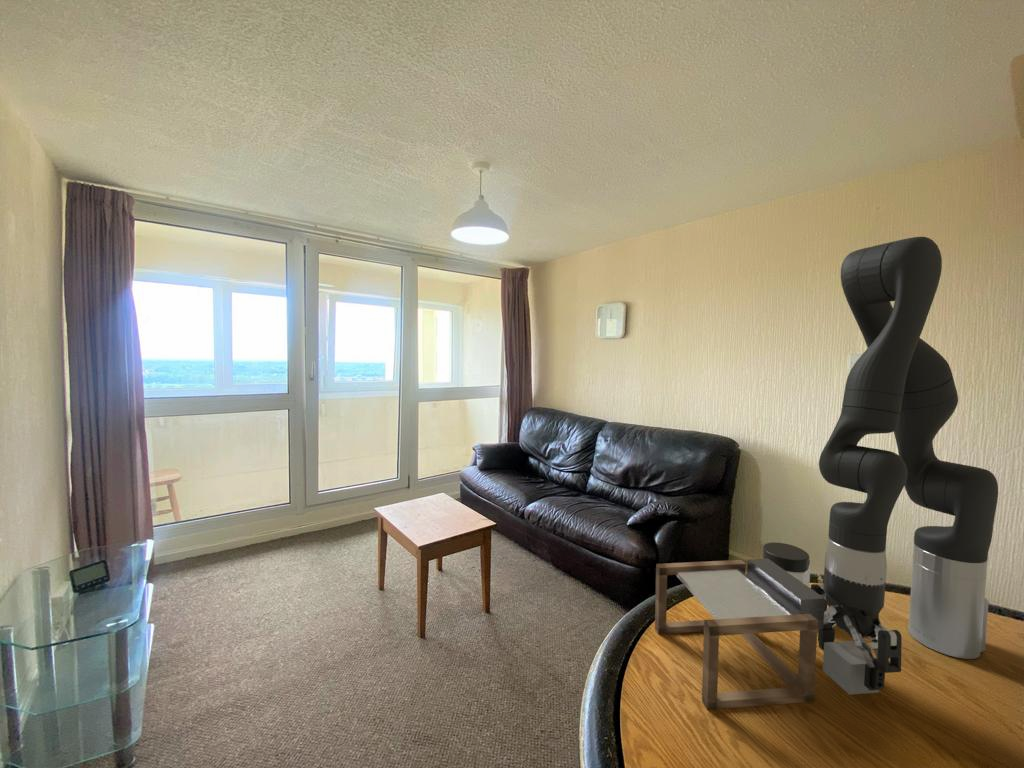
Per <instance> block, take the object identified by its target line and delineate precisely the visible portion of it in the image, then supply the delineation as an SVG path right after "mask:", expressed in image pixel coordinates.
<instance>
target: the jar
mask: <svg viewBox="0 0 1024 768" xmlns="http://www.w3.org/2000/svg"><path fill="white" fill-rule="evenodd" d="M767 558H768V559H769V560H771V561H772V562H774V563H775V564H776V565H778V566H779V567H781V568H782V569H784V570H785V571H786V572H788V573H789V574H791V575H792V576H794V577H795V578H796V579H798V580H799V581H801V582H802V583H804V584H805V585H806V586H808V587H809V588H810V584H811V583H810V581H811V580H810V578H811V566H810V561H811V560H810V555H809V553H808V552H807V551H805V550H804V549H802V548H800V547H798V546H796V545H794V544H793V545H792V544H788V543H784V542H774V541H773V542H767V543H764V544H763V546H762V559H767Z"/></svg>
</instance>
